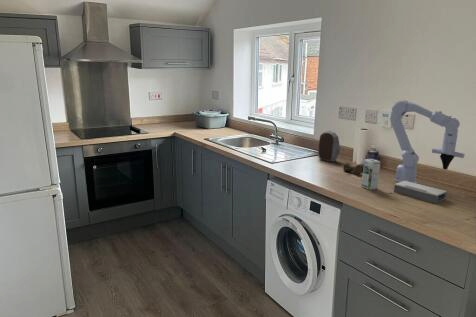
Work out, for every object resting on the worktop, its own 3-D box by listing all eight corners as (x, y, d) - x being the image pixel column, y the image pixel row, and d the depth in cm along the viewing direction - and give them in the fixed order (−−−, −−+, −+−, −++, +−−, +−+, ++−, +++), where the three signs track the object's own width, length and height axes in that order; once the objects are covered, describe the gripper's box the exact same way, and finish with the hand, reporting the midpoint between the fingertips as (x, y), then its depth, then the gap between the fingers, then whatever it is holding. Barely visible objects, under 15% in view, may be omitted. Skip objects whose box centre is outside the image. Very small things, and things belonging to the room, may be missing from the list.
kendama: (373, 172, 215) (351, 176, 204) (360, 169, 223) (338, 172, 212) (374, 163, 214) (352, 166, 203) (361, 160, 221) (338, 162, 211)
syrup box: (360, 186, 186) (363, 159, 182) (369, 185, 188) (372, 158, 184) (368, 190, 180) (371, 161, 177) (377, 188, 183) (381, 160, 179)
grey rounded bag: (315, 159, 243) (317, 129, 238) (322, 157, 248) (325, 128, 244) (334, 163, 232) (336, 132, 227) (341, 161, 237) (344, 131, 233)
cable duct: (393, 191, 178) (394, 185, 178) (403, 188, 184) (404, 181, 184) (436, 203, 163) (437, 196, 162) (445, 199, 169) (446, 192, 169)
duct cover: (394, 184, 177) (394, 182, 177) (404, 181, 184) (404, 179, 183) (437, 196, 162) (437, 193, 162) (446, 192, 169) (446, 190, 168)
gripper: (468, 144, 177) (463, 171, 180) (437, 139, 188) (433, 164, 191) (463, 145, 172) (458, 173, 176) (431, 141, 183) (427, 166, 186)
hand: (445, 169), depth 183 cm, fingers closed
